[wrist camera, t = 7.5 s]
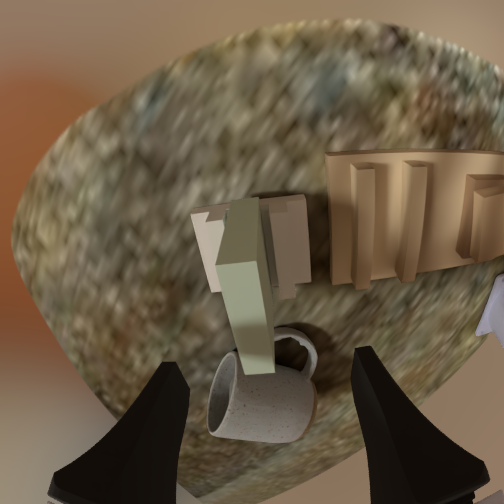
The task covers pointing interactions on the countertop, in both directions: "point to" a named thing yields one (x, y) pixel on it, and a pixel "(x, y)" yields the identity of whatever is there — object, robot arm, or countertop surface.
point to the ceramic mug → (264, 398)
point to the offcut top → (488, 224)
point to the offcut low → (471, 185)
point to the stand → (276, 238)
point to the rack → (398, 210)
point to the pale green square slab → (247, 285)
